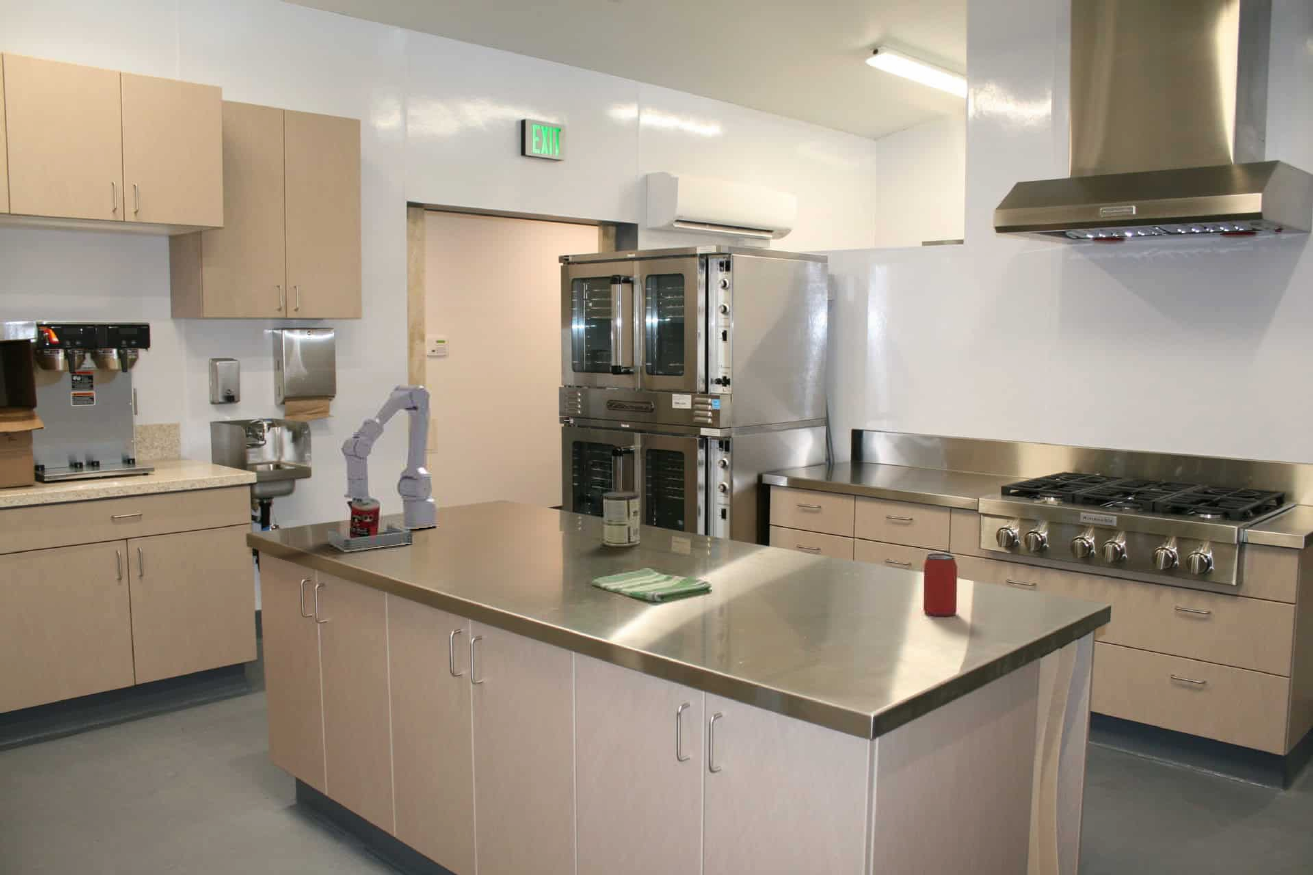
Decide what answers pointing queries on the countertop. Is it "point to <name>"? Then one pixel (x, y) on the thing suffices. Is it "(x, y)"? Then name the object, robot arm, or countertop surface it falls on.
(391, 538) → the tray
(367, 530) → the canned food
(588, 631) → the countertop surface
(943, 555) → the beer can
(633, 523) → the coffee can
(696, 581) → the dish towel
